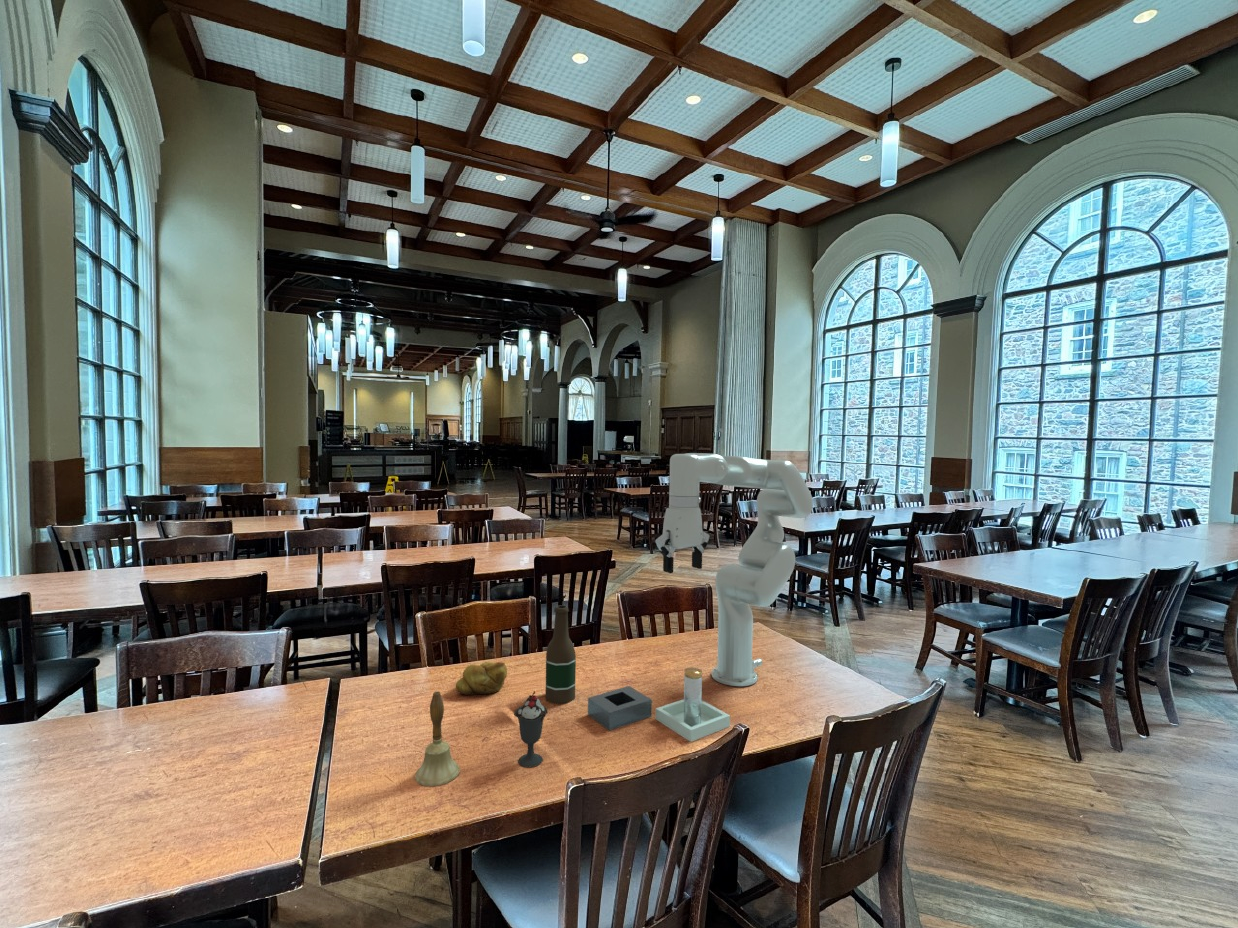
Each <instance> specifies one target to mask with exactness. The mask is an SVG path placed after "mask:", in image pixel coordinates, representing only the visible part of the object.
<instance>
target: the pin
mask: <svg viewBox="0 0 1238 928" xmlns="http://www.w3.org/2000/svg"><path fill="white" fill-rule="evenodd" d="M683 677H684V678H683V679H684V683H683V684H684V685H683V692H684V693H683V699H684V723H686V724H687V725H689V726H690V727H693V726H695V725H698V724H701V701H703V700H702V694H703V693H702V691H703V689H702V688H703V671H702V669H700V668H698V667H694V666H693V667H687V668H685V669H684V675H683Z"/></svg>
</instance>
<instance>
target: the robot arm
mask: <svg viewBox="0 0 1238 928" xmlns="http://www.w3.org/2000/svg"><path fill="white" fill-rule="evenodd" d="M798 469H799V468H797V467H796V465H795V464H794V463H793V462H791V461H789V460H783V459H782V460H779V459H778V460H777V459H762V458H761V459H760V458H754V457H752V458H751V457H748V456H747V457H746V456H739V455H725V456H723V455H722V456H721V455H720V454H716V453H704V452H703V453H702V452H700V453H699V452H698V453H697V452H689V453H687V452H686V453H675V454H673V455H671V456H670V459H669V498H668V499H669V500H668V501H669V502H668V504H669V505H668V507H666V509H665V513H664V517H663V518H664V519H663V525H662V526H663V527H662V528H663V529H662V534H661V535H660V536H658V537H657V538H656V539H655V541H654V542H655V544H656V546H657V547H656V548H657V550H658V551H659V553H660V555H661V556H663V559H662V561H663V562H662V564H663V565H662V571H663V572H664V573H669V574H673V573H674V557H673V555H674V553H675V551H676V550H679V549H687V548H689V549H690V548H692V550H693V551H691V567H692V568H695V569H698V570H700V569H702V568H703V554H704V553H705V549H706V547H707V546H708V542H709V539H710V537H711V536H710V534H709V533H708V532H705V531H703V519H702V510H701V508H700V503H701V501H702V500H701V497H700V483H705V484H706V483H708V484H716V485H721V486H725V487H726V486H727V487H737V488H738V487H740V488H750V489H761V490H760V491H759V493H758V495H757V497H756V498H757V499H756V508H757V509H756V510H757V518H758V519H757V526H756V527H755V528H754V530H753V531H752V533H751V534H750V536H749V537H748V539H747V540H746V541H745V543H744V544H743V546H742V548H741V549H740V551H739V553H738V556H737V557H738V558H737V559H738V563H739V565H737V564H727V565H723V566H722V567H720V568H719V570H718V571H717V573H716V575H715V583H714V584H715V591H716V596H717V603H718V604H717V607H718V609H717V611H718V619H717V620H718V621H717V622H718V623H717V625H718V626H717V666H716V667H714V668H713V669H711V677H712V679H713V680H714V681H716V682H718V683H720V684H722V685H726V686H731V687H748V686H749V687H750V686H752V685H754V684H755V683H757V681H758V674H757V672H755V669H756V668H758V667H761V666H762V665H763V660H762V659H761V658H757V659H754V660H753V637H754V636H753V635H754V634H753V633H754V630H753V629H754V628H753V627H754V617H753V610H752V608H751V605H752V606H756V607H760V608H764V607H765V608H766V607H769V606H770V605H772V604H773V603H774V602H775V601H776V599H777V597H778V596H779V595H780V593H781V591H782V590H783V588H784V587H785V585H786V584H787V582H788V580H789V579H790V577H791V575H792V574H793V571H794V570H795V565H796V555H795V551H794V550H793V548H792V547H791V546H790V545H788V544H787V543H783V541H784V538H785V531H784V528H783V526H782V524H781V521H780V517H783V518H785V517H786V518H793V519H804V518H807V517H808V516H809V515H810V514H812V511H813V507H814V500H813V496H812V494H811V491H810V490H809V487H808V485H807V484H806V481H805V480H804V478H803V476H802V474H801V472H800V470H798Z"/></svg>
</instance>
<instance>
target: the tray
mask: <svg viewBox="0 0 1238 928" xmlns="http://www.w3.org/2000/svg"><path fill="white" fill-rule="evenodd" d="M655 720H656V721H658V722H659V723H661V724H662V725H663V726H665V727H667V728H668V729H670V730H671V731H673V732H674V733H676V734H678V735H679V736H681V737H683V738H684V739H685V740H686V741H689V742H692V743H693V742H694V741H697V740H699V739H702V738H704V737H707V736H710V735H712V734H715V733H717V732H720V731H722V730H725V729H727V728H729V727H731V715H730V714H728V713H726V712H724V711H723V710H721V709H719V708H717V707H715V706H714V705H712V704H710V703H708V702H707V701H704V700H702V701H701V724H698V725H695V726H693V727H690V726H689V725H687V724H686V723H684V698H683V699H681V700H676V701H674V702H671V703H668V704H665V705H662V706H659V707H656V708H655Z"/></svg>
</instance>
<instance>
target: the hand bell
mask: <svg viewBox="0 0 1238 928" xmlns="http://www.w3.org/2000/svg"><path fill="white" fill-rule="evenodd" d="M444 708H445V706H444V701H443V697H442V695H441V692H440V691H434V692H433V693H432V698H431V700H430V705H429V717H430V720H431V722H432V723H431V724H432V742H431V743H429V744H427V746H426V747H425V750H424V757H423V760H422V761H423V762H422V764H421V765H420V766H419V767H418V769H417V770H416V772H415V773H414V780H415V782H416V783H417V784H419V785H420V786H424V787H437V786H442V785H445V784H448V783H450V782H451V781H453V780H455V779H456V778H457V776H459V773H460V771H461V770H460V769H461V768H460V766H459V764H458V763H457V762H456V760H454V759H453V757H452V755H451V754H452V753H451V750H450V749H451V748H450V744H449V742H447V741H444V740H443V735H442V722H443V719H444V715H445V714H444V711H445V709H444Z"/></svg>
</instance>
